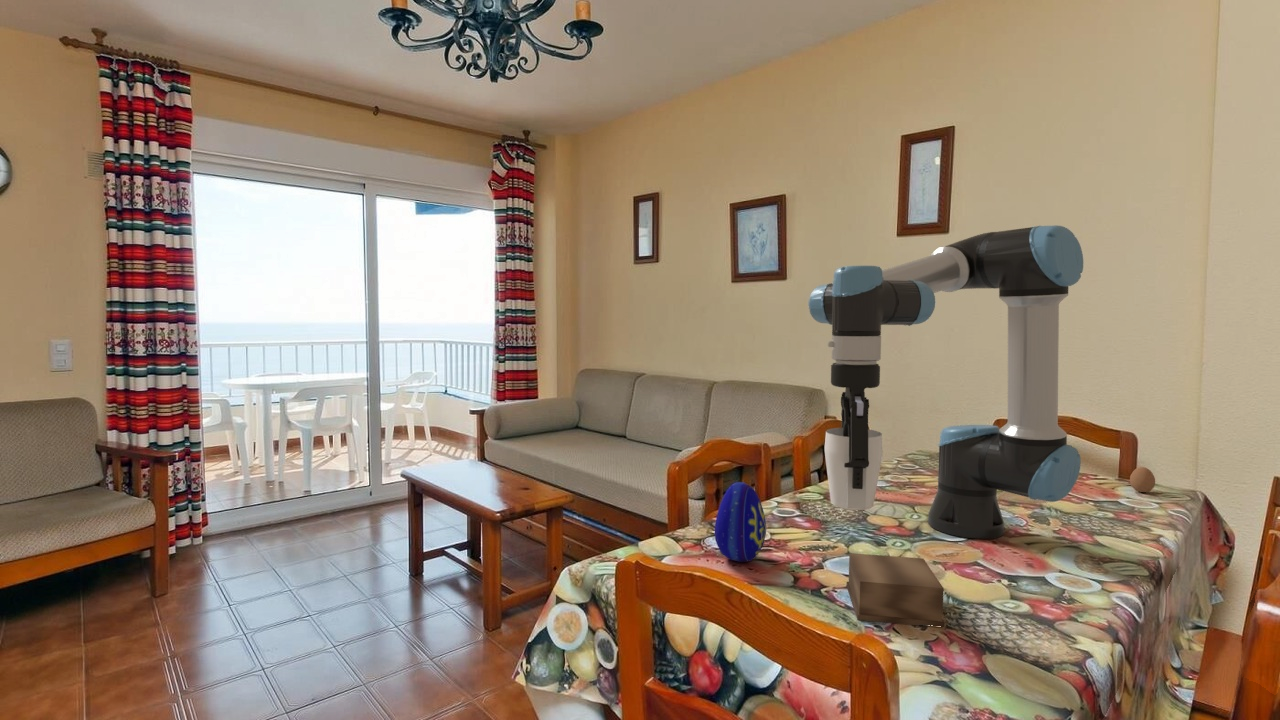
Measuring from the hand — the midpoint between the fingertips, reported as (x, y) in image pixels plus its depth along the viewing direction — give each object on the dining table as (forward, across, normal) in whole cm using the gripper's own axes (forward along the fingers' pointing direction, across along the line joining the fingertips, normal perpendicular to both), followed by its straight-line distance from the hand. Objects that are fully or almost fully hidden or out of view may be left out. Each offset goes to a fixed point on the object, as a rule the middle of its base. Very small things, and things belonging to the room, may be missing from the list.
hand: (852, 499), depth 104 cm
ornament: (+17, -13, -19) cm, 29 cm away
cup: (+1, 0, 0) cm, 1 cm away
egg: (+18, -86, +86) cm, 123 cm away
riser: (+17, +1, +6) cm, 18 cm away
